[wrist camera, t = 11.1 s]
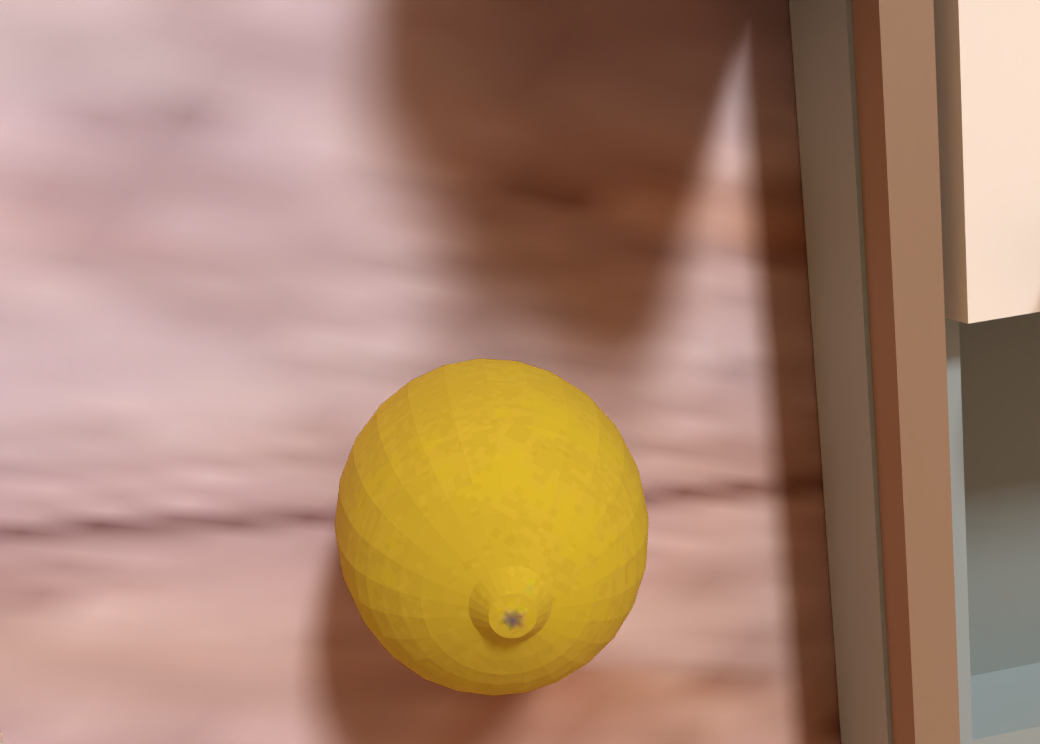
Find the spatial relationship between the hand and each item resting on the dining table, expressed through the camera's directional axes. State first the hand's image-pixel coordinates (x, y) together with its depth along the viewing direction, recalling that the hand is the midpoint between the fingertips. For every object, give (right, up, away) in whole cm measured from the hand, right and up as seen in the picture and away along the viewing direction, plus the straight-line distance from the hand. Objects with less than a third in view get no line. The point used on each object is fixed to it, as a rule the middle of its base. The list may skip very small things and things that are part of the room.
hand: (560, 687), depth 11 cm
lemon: (-1, +2, +9) cm, 10 cm away
